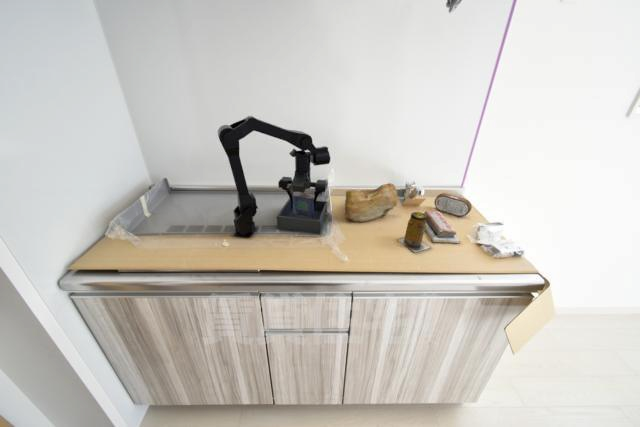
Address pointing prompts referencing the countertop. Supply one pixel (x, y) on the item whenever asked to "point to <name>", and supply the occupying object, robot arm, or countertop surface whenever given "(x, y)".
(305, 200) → the flask
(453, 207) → the tin
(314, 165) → the robot arm
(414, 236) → the condiment
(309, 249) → the countertop surface
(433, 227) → the packaged product
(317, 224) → the bin
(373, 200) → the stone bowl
